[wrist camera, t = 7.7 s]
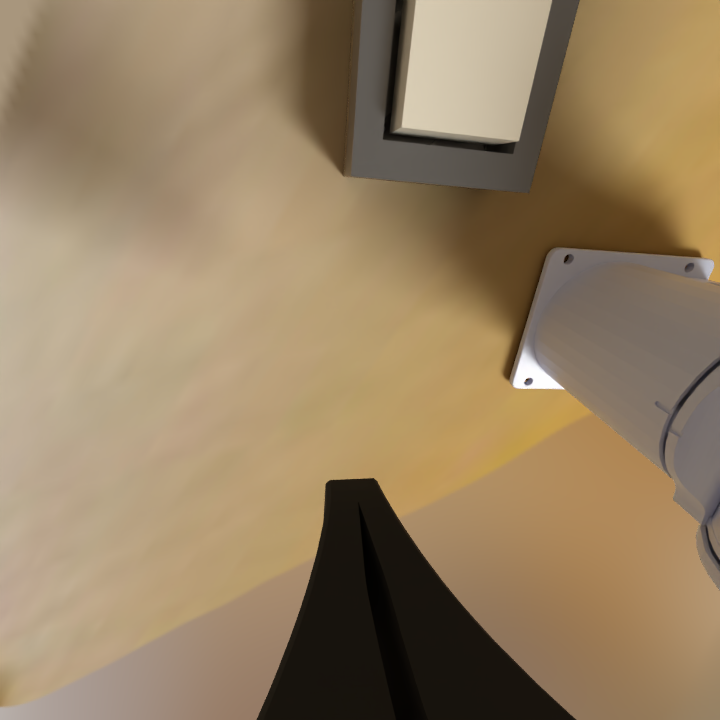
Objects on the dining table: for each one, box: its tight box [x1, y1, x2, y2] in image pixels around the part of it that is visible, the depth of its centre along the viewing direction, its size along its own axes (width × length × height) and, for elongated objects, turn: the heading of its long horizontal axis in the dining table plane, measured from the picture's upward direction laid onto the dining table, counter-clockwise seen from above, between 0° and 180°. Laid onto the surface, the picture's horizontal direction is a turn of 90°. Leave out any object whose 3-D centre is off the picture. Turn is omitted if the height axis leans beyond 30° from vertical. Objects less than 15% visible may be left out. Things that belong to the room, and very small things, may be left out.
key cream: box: [389, 0, 552, 146], centre depth 12 cm, size 4×4×2 cm
